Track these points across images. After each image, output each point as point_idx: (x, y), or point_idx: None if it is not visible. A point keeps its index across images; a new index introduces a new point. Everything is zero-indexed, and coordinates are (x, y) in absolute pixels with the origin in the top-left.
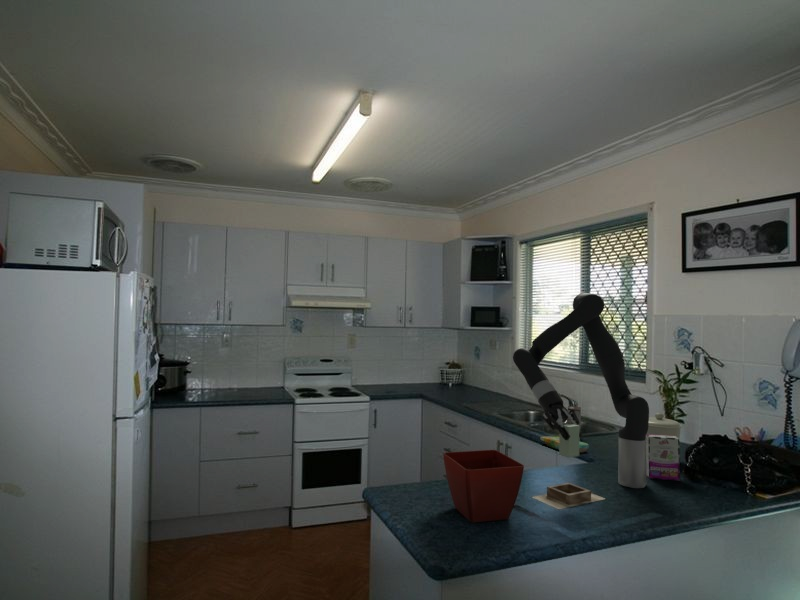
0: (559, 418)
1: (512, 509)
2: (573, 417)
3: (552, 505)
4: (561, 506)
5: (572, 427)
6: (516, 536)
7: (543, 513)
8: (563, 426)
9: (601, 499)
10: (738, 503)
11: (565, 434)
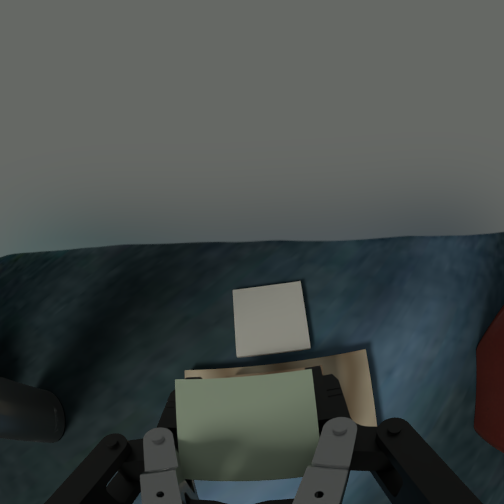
0: (345, 476)
1: (483, 335)
2: (102, 492)
3: (365, 376)
4: (346, 365)
5: (267, 374)
6: (485, 275)
7: (394, 365)
8: (325, 422)
9: (200, 371)
10: (18, 270)
11: (333, 383)
